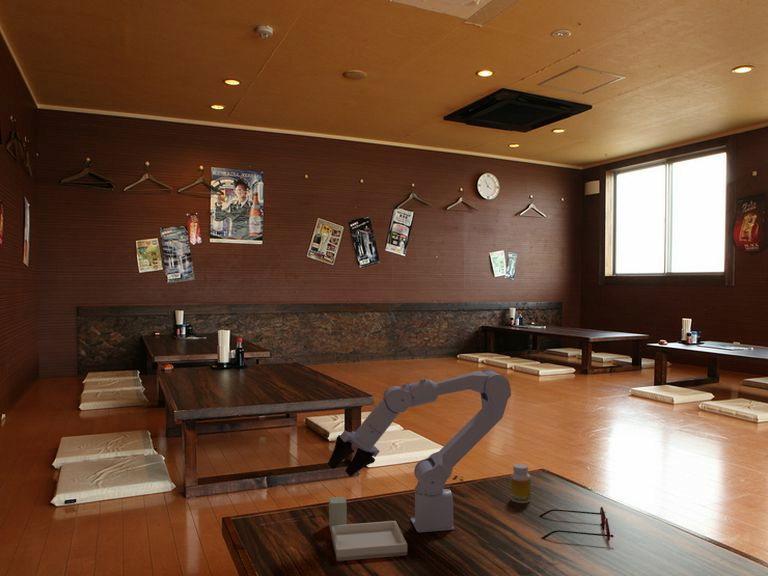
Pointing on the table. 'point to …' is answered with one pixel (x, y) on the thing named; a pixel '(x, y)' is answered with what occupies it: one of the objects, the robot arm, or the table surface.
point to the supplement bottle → (520, 484)
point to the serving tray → (368, 540)
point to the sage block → (337, 511)
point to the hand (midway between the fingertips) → (339, 470)
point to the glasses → (582, 532)
